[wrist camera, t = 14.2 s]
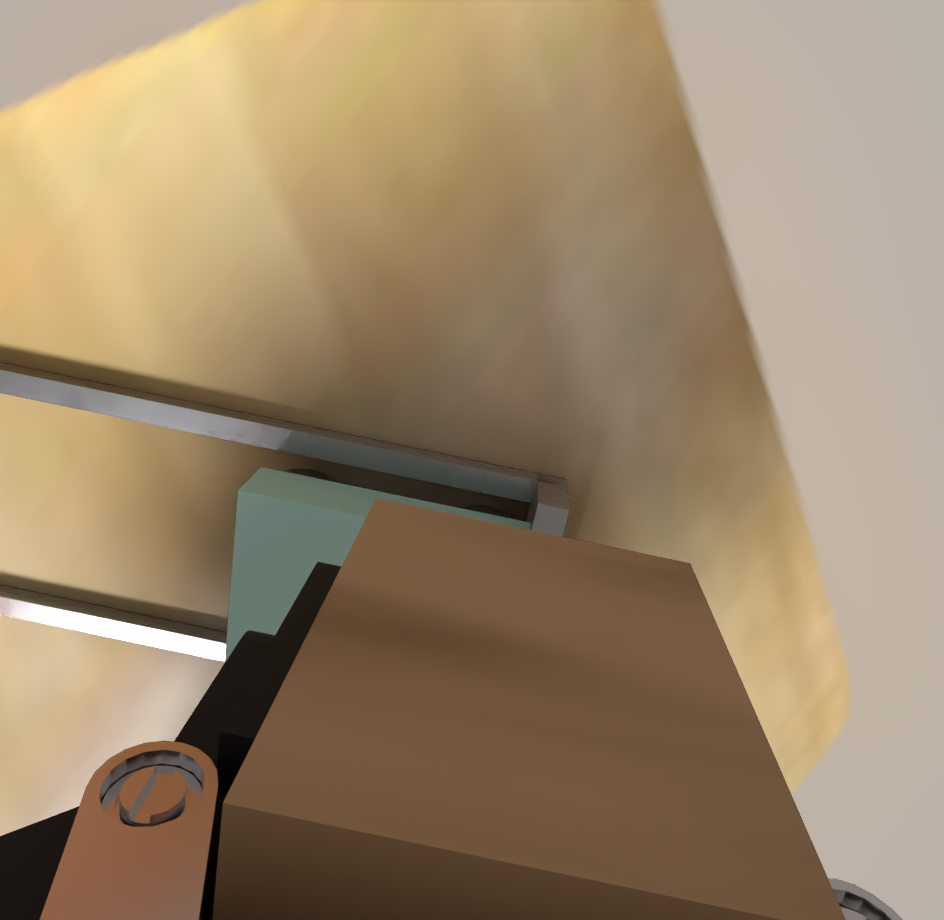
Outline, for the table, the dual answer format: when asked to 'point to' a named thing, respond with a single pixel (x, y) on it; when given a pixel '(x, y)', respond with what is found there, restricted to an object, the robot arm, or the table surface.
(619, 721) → the block
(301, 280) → the table surface
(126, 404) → the track
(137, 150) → the table surface
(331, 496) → the sage green box
